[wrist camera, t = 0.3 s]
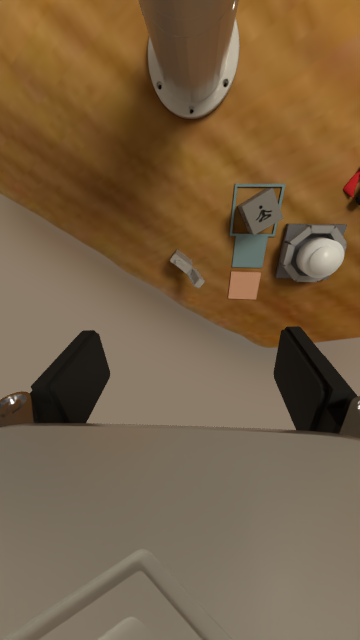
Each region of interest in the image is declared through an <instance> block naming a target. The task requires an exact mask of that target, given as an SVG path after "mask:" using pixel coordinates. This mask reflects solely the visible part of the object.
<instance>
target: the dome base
mask: <svg viewBox="0 0 360 640" xmlns="http://www.w3.org/2000/svg"><path fill="white" fill-rule="evenodd" d="M346 226H347V225H345V224H287V225H286V230H285V234H284V238H283V243H282V247H281V252H280V256H279V261H278V265H277V269H276V274H275V277H276V278H292V279H293V280H294V281H296V282H316V281H320V280H321V279H328V277H329V275H328V276H326V277H323V278H313V277H310V276H308V275H307V274H305V273H304V272H302V271H301V270H300V269H299V268H298V266H297V263H296V258H297V254H298V252H299V250H300V248H301V247H302V246H303V245H304V244H305V243H306V242H308V241H309V240H311V239H314V238H318V237H324V238H328V239H331V240H334V241H337V242H339V243H340V244H341V245H342V247H343V249H344V252H345V250H346V247H347V246H346V245H345V244H346V241H345V239H344V238H343V235H344V232H345V229H346Z"/></svg>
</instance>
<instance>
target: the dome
mask: <svg viewBox="0 0 360 640" xmlns="http://www.w3.org/2000/svg"><path fill="white" fill-rule="evenodd" d="M343 258H344V249H343V247H342V245H341V244H340V243H339V242H337V241H334V240H331V239H328V238H324V237H318V238H314V239H311V240H309V241H308V242H306V243H305V244H304V245H303V246H302V247H301V248H300V250H299V252H298V254H297V258H296V263H297V266H298V268H299V269H300V270H301V271H302V272H304V273H305V274H307V275H308V276H310V277H313V278H323V277H326V276H328V275H330V274H332V273H333V272H335V271H336V270H337V269H338V268H339V266H340V265H341V263H342V261H343Z"/></svg>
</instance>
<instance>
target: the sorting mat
mask: <svg viewBox="0 0 360 640" xmlns="http://www.w3.org/2000/svg"><path fill="white" fill-rule="evenodd" d="M237 187H282V189H281V194H280V199H279V207H280V208H281V203H282V198H283V193H284V189H285V184H235V190H234V199H233V208H232V217H231V226H230V235H229V236H236V238H235V246H234V254H233V262H232V267H252V268H262V265H263V260H264V255H265V250H266V244H267V239H268V236H275V232H276V227H277V223H278V222H277V223H275V224H274V229H273V234H255V235H253V234H237V233H232V229H233V220H234V212H235V203H236V194H237ZM260 275H261V272H231V279H230V287H229V295H228V298H230V299H256V296H257V291H258V286H259V281H260Z"/></svg>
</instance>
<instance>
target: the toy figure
mask: <svg viewBox="0 0 360 640" xmlns="http://www.w3.org/2000/svg"><path fill="white" fill-rule="evenodd" d="M359 178H360V170H359V171H358V172H357V173H356V174H355V175H354V176H353V177H352V178H351V179H350V180H349V182H348V183H347V184H346V185H345V187H344V188H343V190H344V191H345V192H346V193H347V194H348V195H350V196H351V197H353V194H354V191H355V188H356V185H357V183H358V180H359ZM356 203H358V204H359V205H360V196H358V197H357V198H356Z"/></svg>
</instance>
